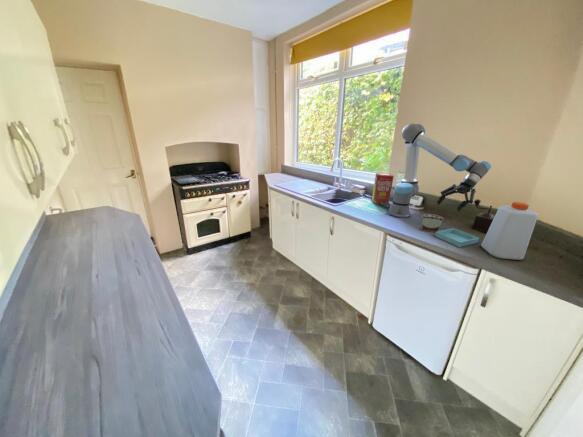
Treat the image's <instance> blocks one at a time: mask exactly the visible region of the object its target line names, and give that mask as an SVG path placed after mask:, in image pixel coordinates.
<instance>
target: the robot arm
mask: <svg viewBox="0 0 583 437" xmlns="http://www.w3.org/2000/svg"><path fill="white" fill-rule="evenodd" d="M401 137H402V138H403V140H404V145H405V146H406V149H405V160H404V169H403V170H404V171H403V178H402V179H401V180H400V182H398V183H396V185H395V187H394V193H393V198H392V203H391V205H390V206H389V205H388V206H387V205H386V204H380V203H377V204H378V205H379V206H381V207H384V208H388V211H387V213H388V215H390V216H392V217H396V218H402V219H403V218H409V217H410V215H411V211H410V203H411V198H413V197H416V195H417V194H418V193H419V190H420V187H419V185H418V184H419V180H418V178H417V174H418V165H419V164H418V163H419V156H420V154H419V153H420V148H421V149H423V150H425V151H426V152H427V153H429V154H431V155H432V156H434V157H436V158H437V159H439V160H441V161H442V162H444V163H445V164H447V165H449V166H450V167H452V168H453V169H454V170H455V171H456V172H464V171H466V172H467V173H468V174H467V175H466V176H465V177H464V178H463V180H461V182H460V183H459V184H458V185H456V183H454V184H452V185H451V186H449V187H447V188H445V189H443V190H442V191H440V196H439V198H438V200H436V203H437V205H440V204H441V203H442V202H443V201H444V200H445V199H446V197H448V196H451V195H453V194H461V195H464V199H465V200H463V201H462V202H461V203H460V204H459V205H458V206H457V207H456V209H457V212H460V211H461V210H462V209H463V208H465V207H466V206H467V205H468V204H471V205H472V204H473V203H474V200H475V199H474V198H475V194H476V193H477V191H476V188H475V187H476V185H477V184H478V183H479V182H480V181H481V180H482V179H483V178H484V177H485V176H486V175H487V174H488V172H489V171H490V170H491V168H492V165H491V163H490V162H488V161H487V160H486V161H485V160H480V161H476V160H474V159H472V158H470V157H468V156H467V155H464V154H463V153H461V154H459V153H456V152H455V151H453V150H452V149H449V148H448V147H447V146H445V145H443V144H442V143H440V142H438V141H436V140H435V139H433V138H432V137H430V136H428V135H426V129H425V127H424V126H423V124H420V123H408V124H407V125H405V126H404V127H403V128H402V130H401ZM468 193H470V196H469V195H468ZM362 196H365V197H366V198H367V199H372V196H368V195H367V194H366V193H363V194H362Z"/></svg>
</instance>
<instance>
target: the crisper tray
mask: <svg viewBox="0 0 583 437" xmlns="http://www.w3.org/2000/svg"><path fill="white" fill-rule="evenodd" d="M434 237H436V238H438V239H440V240H443V241H445V242H447V243H449V244H451V245H454V246H455V247H458V248H463V247H466V246H470V245H473V244H478V242H479V240H480V238H479V237H478V236H475V235H472V234H470V233H468V232H465V231H462V230H460V229H457V228H454V227H452V228H448V229H442V230H438V231H437V232H435V233H434Z"/></svg>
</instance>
